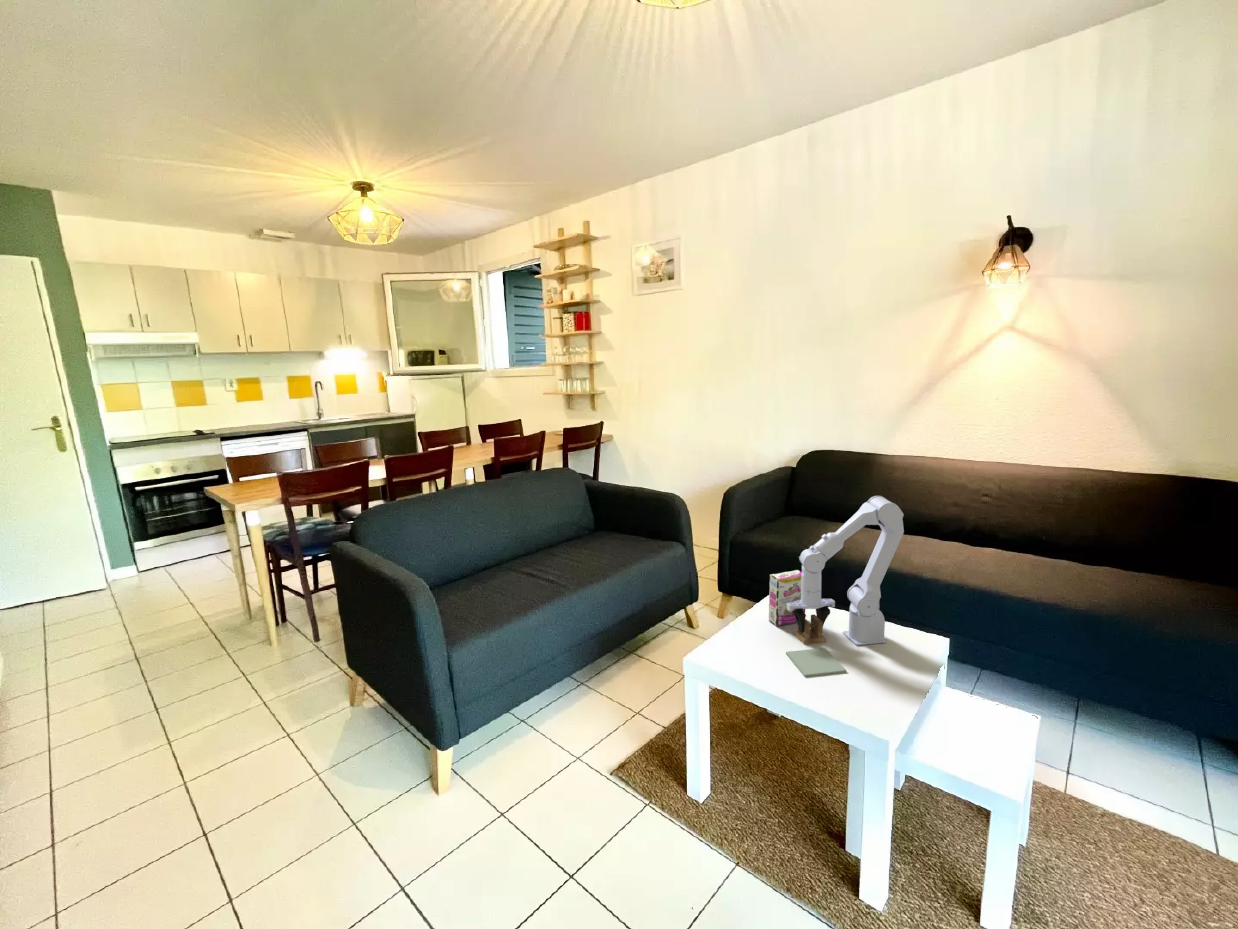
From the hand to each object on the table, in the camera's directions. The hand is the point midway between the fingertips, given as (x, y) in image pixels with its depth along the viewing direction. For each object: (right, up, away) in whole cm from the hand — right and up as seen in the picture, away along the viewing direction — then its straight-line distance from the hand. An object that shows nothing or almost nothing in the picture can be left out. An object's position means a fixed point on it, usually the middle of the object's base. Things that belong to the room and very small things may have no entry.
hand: (810, 630), depth 161 cm
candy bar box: (-3, -1, +12) cm, 13 cm away
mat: (-3, -5, -13) cm, 14 cm away
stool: (0, -3, +1) cm, 3 cm away
